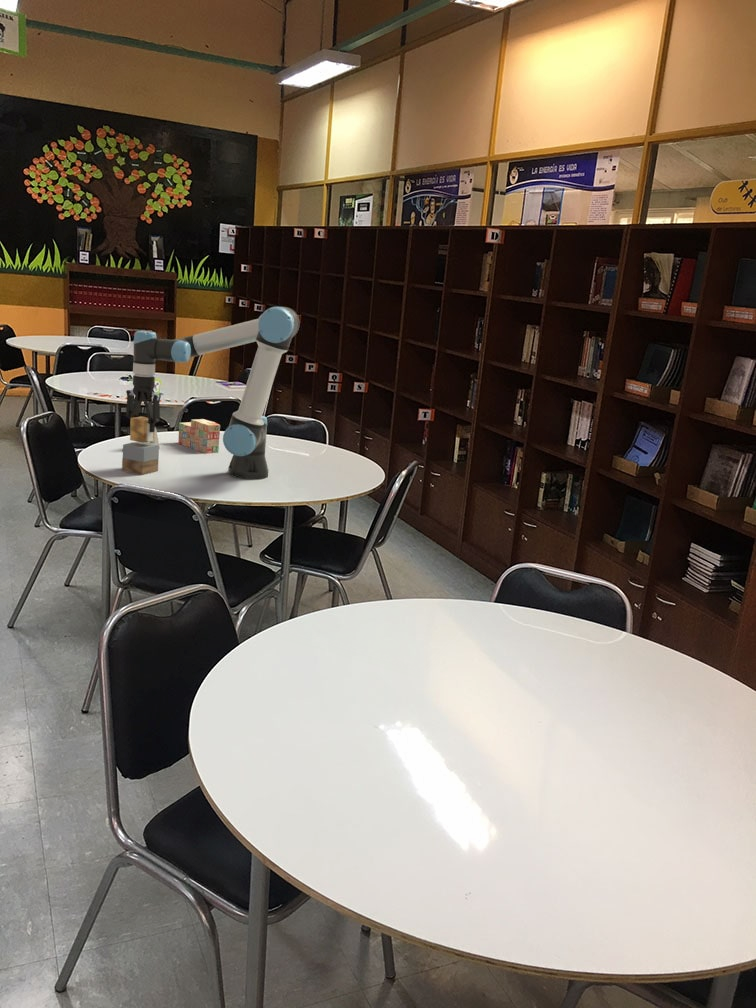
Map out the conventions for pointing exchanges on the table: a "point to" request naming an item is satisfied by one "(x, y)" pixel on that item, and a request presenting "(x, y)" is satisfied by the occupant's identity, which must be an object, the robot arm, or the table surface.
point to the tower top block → (140, 451)
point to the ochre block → (139, 429)
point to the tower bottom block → (139, 466)
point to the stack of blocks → (200, 435)
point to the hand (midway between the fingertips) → (142, 439)
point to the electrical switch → (155, 439)
